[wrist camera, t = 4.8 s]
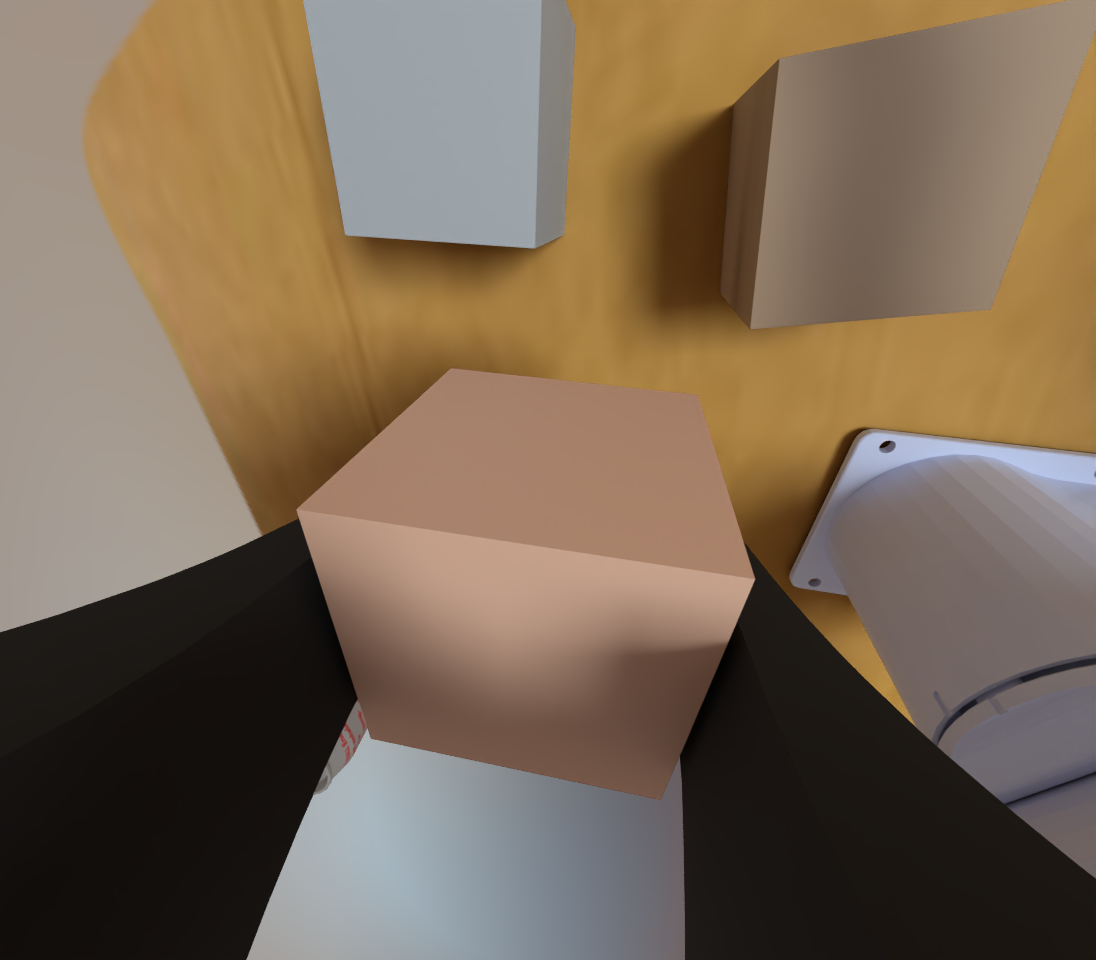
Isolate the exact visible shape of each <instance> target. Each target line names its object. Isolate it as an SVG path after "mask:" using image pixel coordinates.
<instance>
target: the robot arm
mask: <svg viewBox="0 0 1096 960" xmlns="http://www.w3.org/2000/svg"><path fill="white" fill-rule="evenodd" d="M885 441H890V444H889V445H888V446H886V447H884V448H879V446H880V445H881V444H882V443H883V442H885ZM1095 471H1096V454H1092V453H1083V452H1074V451H1065V450H1057V449H1048V448H1039V447H1030V446H1021V445H1012V444H1004V443H995V442H986V441H977V440H968V439H960V438H951V437H942V436H933V435H924V434H915V433H907V432H898V431H889V430H880V429H868V430H865V431H862V432H861V433H860V434H858V435H857V436H856V438H855V439H854V441H853V443H852V445H851V447H850V449H849V452H848V454H847V456H846V458H845V460H844V462H843V464H842V466H841V468H840V470H839V472H838V474H837V476H836V478H835V481H834V483H833V485H832V487H831V489H830V491H829V493H828V495H827V497H826V499H825V501H824V503H823V505H822V507H821V509H820V512H819V514H818V516H817V518H816V520H815V522H814V524H813V526H812V528H811V530H810V532H809V534H808V536H807V538H806V541H805V543H804V545H803V547H802V549H801V551H800V553H799V555H798V557H797V559H796V561H795V563H794V565H793V567H792V570H791V572H790V574H789V578H790V581H791V583H792V585H793V586H795V587H798V588H803V589H809V590H816V591H822V592H828V593H835V594H841V595H848V597H849V599H850V601H851V603H852V605H853V607H854V609H855V610H856V612H857V614H858V616H859V618H860V620H861V622H862V624H863V626H864V628H865V630H866V632H867V633H868V635H869V637H870V639H871V641H872V643H873V645H874V647H875V649H876V651H877V653H878V655H879V656H880V658H881V660H882V662H883V664H884V666H885V668H886V670H887V672H888V674H889V676H890V677H891V679H892V681H893V683H894V685H895V687H896V689H897V691H898V693H899V695H900V697H901V699H902V700H903V702H904V704H905V706H906V708H907V710H908V712H909V714H910V716H911V718H912V720H913V722H914V723H915V725H916V727H917V728H916V727H915V726H914V725H913V724H912V723H911V722H910V721H909V720H908V719H907V718H905V717H904V716H903V715H902V714H901V713H900V712H899V711H898V710H897V709H896V708H895V707H894V706H893V705H892V704H891V703H890V702H889V701H888V700H887V699H886V698H885V697H883V696H882V695H881V694H880V693H879V692H878V691H877V690H876V689H875V688H874V687H873V686H872V685H871V684H870V683H869V682H868V681H867V680H866V679H865V678H864V677H863V676H862V675H861V674H860V673H859V672H858V671H857V670H856V669H855V668H854V667H853V666H852V665H851V664H850V663H849V662H848V661H847V660H846V659H845V658H844V657H843V656H842V655H841V654H840V653H839V652H838V651H837V650H836V649H835V648H834V647H833V646H832V644H831V643H830V642H829V641H828V640H827V639H826V638H825V637H824V636H823V635H822V634H821V633H820V631H819V630H818V629H817V628H816V627H815V626H814V625H813V624H812V623H811V622H810V621H809V620H808V618H807V617H806V616H805V615H804V614H803V613H802V612H801V611H800V609H799V608H798V607H797V606H796V605H795V604H794V603H793V601H792V600H791V599H790V598H789V597H788V596H787V594H786V593H785V592H784V591H783V590H782V588H781V587H780V586H779V585H778V584H777V582H776V581H775V580H774V579H773V578H772V576H771V575H770V574H769V573H768V571H767V570H766V569H765V568H764V566H763V565H762V564H761V563H760V561H759V560H758V559H757V558H756V556H755V555H754V554H753V553H752V551H751V550H750V549H749V547H748V546H747V545H746V544H745V542H744V541H743V542H744V545H745V548H746V551H747V555H748V558H749V561H750V564H751V568H752V571H753V574H754V577H755V581H754V583H753V585H752V588H751V590H750V592H749V595H748V597H747V600H746V602H745V604H744V607H743V609H742V611H741V614H740V616H739V618H738V621H737V623H736V625H735V628H734V630H733V632H732V635H731V637H730V639H729V642H728V644H727V646H726V649H725V651H724V653H723V656H722V658H721V660H720V663H719V665H718V668H717V670H716V672H715V675H714V677H713V679H712V682H711V684H710V686H709V689H708V691H707V693H706V696H705V698H704V700H703V703H702V705H701V707H700V710H699V712H698V714H697V717H696V719H695V721H694V724H693V726H692V728H691V731H690V733H689V735H688V738H687V740H686V743H685V745H684V747H683V750H682V752H681V754H680V764H681V777H682V800H683V833H684V834H683V835H684V836H683V837H684V887H685V888H684V889H685V890H684V891H685V960H1096V472H1095ZM816 578H817V579H816ZM811 579H816V580H813V581H810V580H811ZM357 700H358V697H357V694H356V691H355V688H354V685H353V682H352V679H351V676H350V673H349V670H348V667H347V664H346V661H345V657H344V654H343V651H342V648H341V645H340V642H339V639H338V636H337V633H336V630H335V627H334V624H333V621H332V618H331V615H330V612H329V608H328V605H327V602H326V599H325V596H324V593H323V590H322V587H321V584H320V581H319V578H318V575H317V572H316V569H315V566H314V562H313V559H312V556H311V553H310V550H309V547H308V544H307V541H306V538H305V535H304V532H303V529H302V526H301V523H300V520H299V519H297V520H295V521H293V522H291V523H289V524H287V525H285V526H282V527H280V528H278V529H276V530H274V531H272V532H270V533H268V534H266V535H264V536H262V537H259V538H257V539H255V540H253V541H251V542H249V543H247V544H245V545H243V546H241V547H238V548H236V549H234V550H231V551H229V552H227V553H224V554H222V555H220V556H218V557H215V558H213V559H210V560H208V561H206V562H203V563H200V564H198V565H196V566H193V567H191V568H188V569H185V570H183V571H180V572H178V573H176V574H173V575H170V576H168V577H165V578H163V579H160V580H157V581H155V582H152V583H149V584H147V585H144V586H141V587H138V588H135V589H132V590H129V591H126V592H123V593H120V594H117V595H115V596H111V597H109V598H106V599H103V600H100V601H97V602H94V603H91V604H88V605H85V606H83V607H79V608H76V609H73V610H71V611H68V612H65V613H62V614H59V615H56V616H52V617H49V618H46V619H43V620H40V621H36V622H33V623H30V624H26V625H24V626H20V627H17V628H13V629H10V630H7V631H3V632H0V960H246V959H247V957H248V954H249V951H250V949H251V946H252V943H253V941H254V938H255V936H256V933H257V930H258V927H259V925H260V923H261V920H262V917H263V915H264V912H265V909H266V907H267V904H268V902H269V899H270V897H271V894H272V892H273V890H274V887H275V885H276V882H277V880H278V877H279V875H280V872H281V870H282V868H283V865H284V863H285V860H286V858H287V855H288V853H289V850H290V848H291V846H292V843H293V841H294V838H295V836H296V833H297V831H298V829H299V826H300V824H301V822H302V819H303V817H304V815H305V813H306V810H307V808H308V806H309V803H310V801H311V799H312V797H313V794H314V792H315V790H316V787H317V785H318V783H319V781H320V778H321V776H322V774H323V771H324V769H325V767H326V765H327V763H328V760H329V758H330V756H331V754H332V752H333V750H334V747H335V745H336V743H337V741H338V739H339V737H340V735H341V732H342V730H343V728H344V726H345V724H346V722H347V719H348V717H349V715H350V713H351V711H352V709H353V707H354V705H355V704H356V702H357Z"/></svg>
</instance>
